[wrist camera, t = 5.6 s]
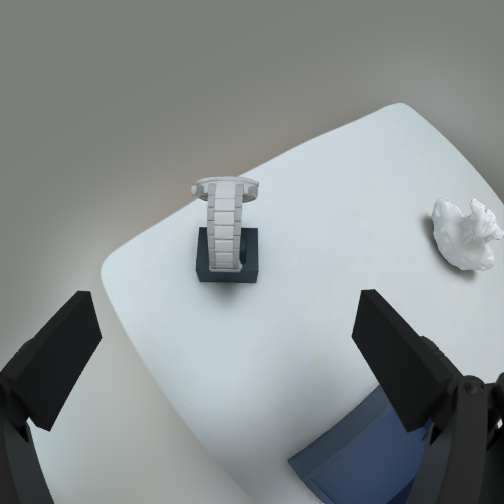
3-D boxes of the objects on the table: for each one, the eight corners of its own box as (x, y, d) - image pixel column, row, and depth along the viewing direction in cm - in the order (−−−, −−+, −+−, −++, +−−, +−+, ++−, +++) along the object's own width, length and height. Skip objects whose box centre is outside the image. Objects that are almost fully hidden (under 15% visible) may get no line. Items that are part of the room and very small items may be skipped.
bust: (411, 227, 34) (425, 216, 24) (442, 190, 32) (463, 167, 22) (463, 287, 30) (491, 298, 20) (493, 249, 28) (527, 247, 18)
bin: (287, 460, 20) (300, 478, 15) (390, 373, 23) (421, 369, 19) (355, 528, 15) (377, 548, 10) (442, 447, 19) (473, 451, 14)
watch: (255, 227, 30) (264, 152, 20) (256, 300, 26) (268, 246, 17) (203, 226, 30) (190, 152, 20) (197, 298, 26) (175, 245, 16)
